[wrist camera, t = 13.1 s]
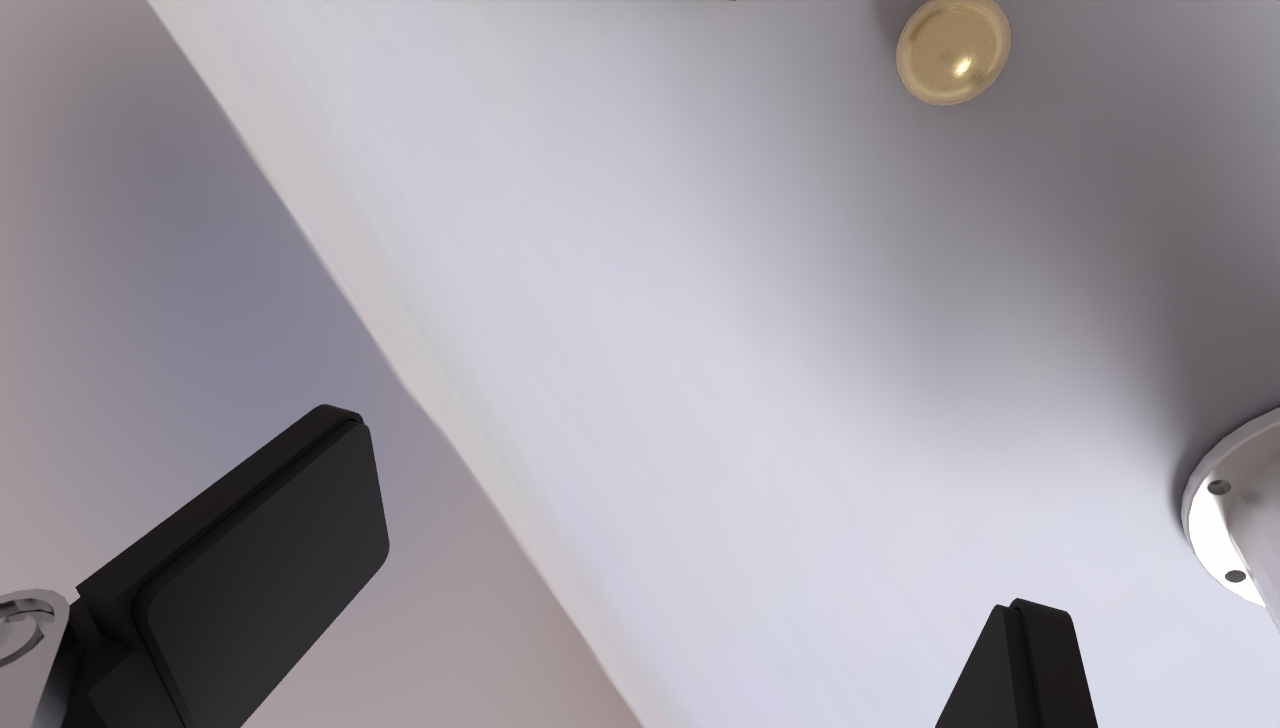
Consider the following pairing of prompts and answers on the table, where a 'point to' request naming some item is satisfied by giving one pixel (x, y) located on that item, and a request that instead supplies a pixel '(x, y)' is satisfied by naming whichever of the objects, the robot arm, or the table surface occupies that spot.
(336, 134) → the table surface
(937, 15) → the brass ball
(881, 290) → the table surface
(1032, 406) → the table surface
